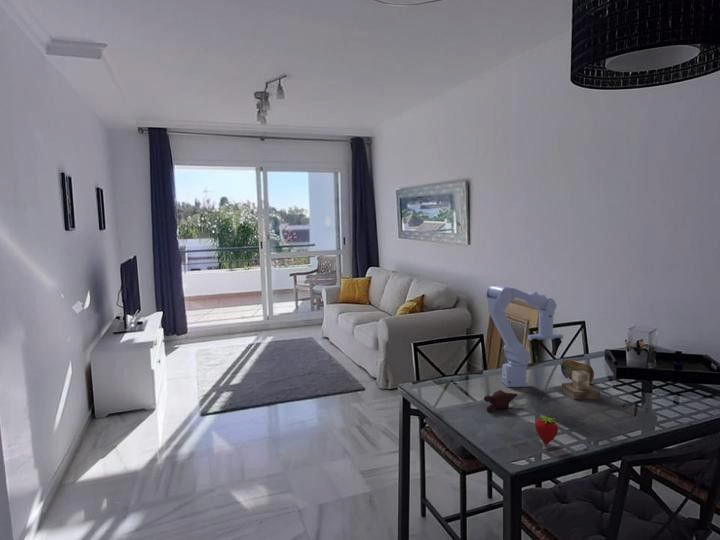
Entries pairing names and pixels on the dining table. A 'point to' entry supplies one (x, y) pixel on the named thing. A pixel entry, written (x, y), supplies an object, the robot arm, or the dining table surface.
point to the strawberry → (546, 429)
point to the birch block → (580, 379)
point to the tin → (576, 368)
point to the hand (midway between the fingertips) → (545, 355)
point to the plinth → (580, 392)
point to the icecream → (499, 400)
